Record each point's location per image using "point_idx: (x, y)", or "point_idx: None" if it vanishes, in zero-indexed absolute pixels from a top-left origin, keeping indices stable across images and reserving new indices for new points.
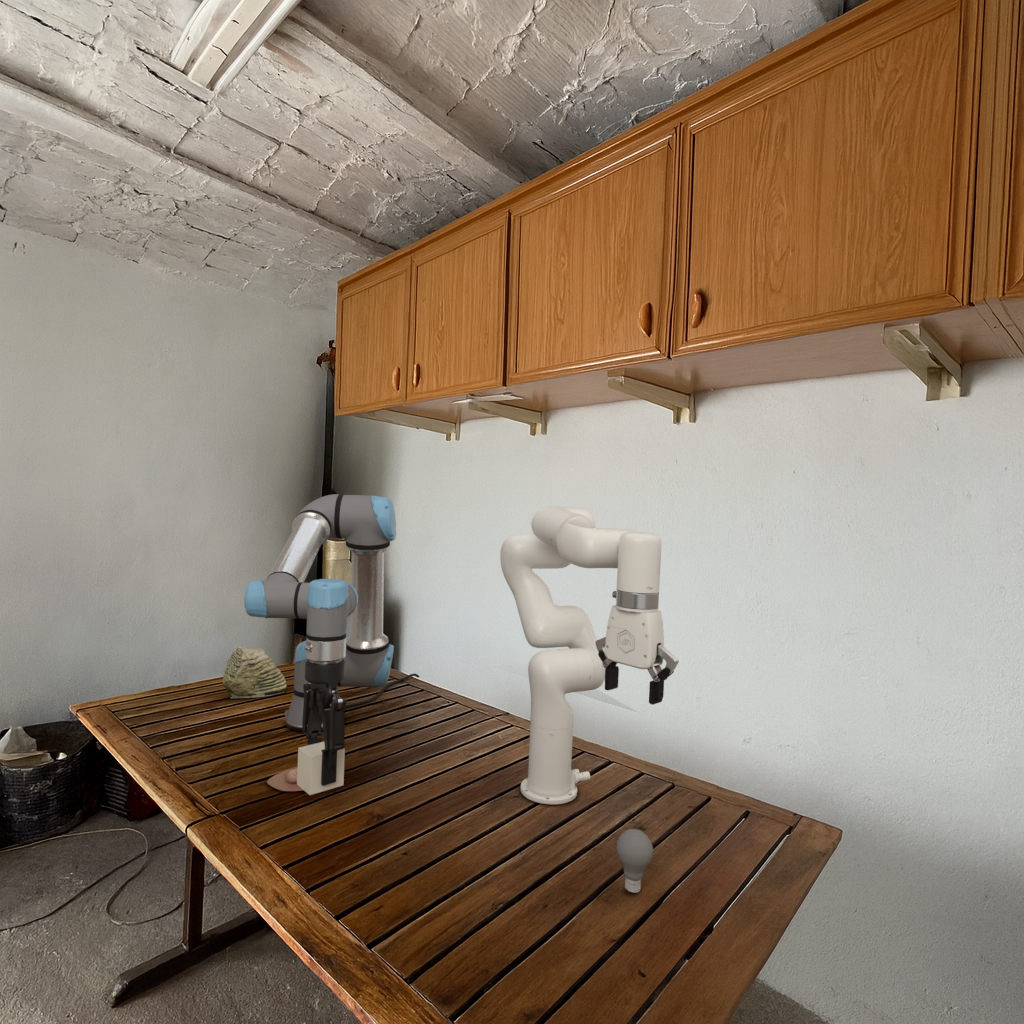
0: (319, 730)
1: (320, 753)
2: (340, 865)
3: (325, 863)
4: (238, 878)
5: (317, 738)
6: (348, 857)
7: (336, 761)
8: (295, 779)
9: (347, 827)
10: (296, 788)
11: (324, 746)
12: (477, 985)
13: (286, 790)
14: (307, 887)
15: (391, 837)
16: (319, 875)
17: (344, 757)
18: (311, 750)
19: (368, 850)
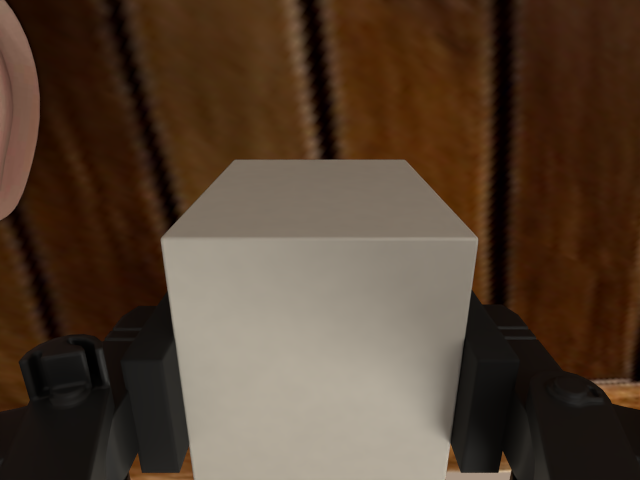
0: (102, 447)
1: (423, 446)
2: (616, 266)
3: (570, 295)
4: (457, 470)
5: (142, 395)
6: (600, 227)
7: (530, 332)
8: None
9: (431, 135)
10: (18, 168)
11: (298, 364)
12: None
13: (14, 204)
14: (626, 374)
15: (625, 27)
16: (607, 331)
17: (449, 209)
18: (317, 471)
19: (622, 153)
